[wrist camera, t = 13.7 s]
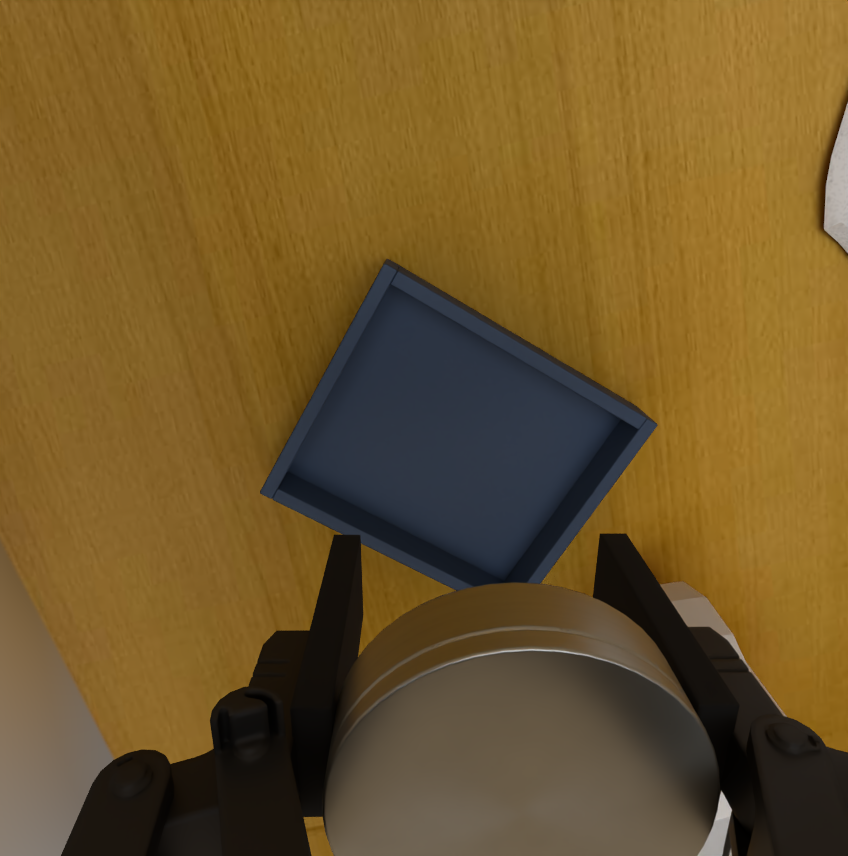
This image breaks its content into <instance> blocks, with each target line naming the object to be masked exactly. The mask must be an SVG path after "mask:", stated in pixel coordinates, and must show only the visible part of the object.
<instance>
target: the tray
mask: <svg viewBox="0 0 848 856" xmlns="http://www.w3.org/2000/svg"><path fill="white" fill-rule="evenodd" d="M656 427H657V423H655V422H654V421H653V420H652V419H651V418H650V417H648V416H647V415H646V414H645V413H644V412H643V411H641V410H640V409H639V408H638V407H637V406H635V405H634V404H632V403H630V402H628V401H627V400H625V399H623V398H622V397H620V396H618V395H617V394H615V393H613V392H612V391H610V390H608V389H607V388H605V387H603V386H602V385H600V384H598V383H596V382H595V381H593V380H591V379H590V378H588V377H586V376H585V375H583V374H581V373H580V372H578V371H576V370H575V369H573V368H571V367H570V366H568V365H566V364H564V363H563V362H561V361H559V360H558V359H556V358H554V357H553V356H551V355H549V354H548V353H546V352H544V351H543V350H541V349H539V348H538V347H536V346H534V345H532V344H531V343H529V342H527V341H526V340H524V339H522V338H521V337H519V336H517V335H516V334H514V333H512V332H511V331H509V330H507V329H506V328H504V327H502V326H500V325H499V324H497V323H495V322H494V321H492V320H490V319H489V318H487V317H485V316H484V315H482V314H480V313H479V312H477V311H475V310H474V309H472V308H470V307H468V306H467V305H465V304H463V303H462V302H460V301H458V300H457V299H455V298H453V297H452V296H450V295H448V294H447V293H445V292H443V291H442V290H440V289H438V288H436V287H435V286H433V285H431V284H430V283H428V282H426V281H425V280H423V279H421V278H420V277H418V276H416V275H415V274H413V273H411V272H410V271H408V270H406V269H404V268H403V267H401V266H399V265H398V264H396V263H394V262H393V261H391V260H389V259H386V261H385V262H384V264H383V266H382V268H381V270H380V272H379V273H378V275H377V277H376V279H375V281H374V283H373V284H372V286H371V288H370V290H369V292H368V294H367V296H366V297H365V299H364V301H363V303H362V305H361V307H360V308H359V310H358V312H357V314H356V316H355V318H354V319H353V321H352V323H351V325H350V327H349V329H348V331H347V332H346V334H345V336H344V338H343V340H342V342H341V343H340V345H339V347H338V349H337V351H336V353H335V355H334V356H333V358H332V360H331V362H330V364H329V366H328V367H327V369H326V371H325V373H324V375H323V377H322V378H321V380H320V382H319V384H318V386H317V388H316V390H315V391H314V393H313V395H312V397H311V399H310V401H309V402H308V404H307V406H306V408H305V410H304V412H303V413H302V415H301V417H300V419H299V421H298V423H297V425H296V426H295V428H294V430H293V432H292V434H291V436H290V437H289V439H288V441H287V443H286V445H285V447H284V449H283V450H282V452H281V454H280V456H279V458H278V460H277V461H276V463H275V465H274V467H273V469H272V471H271V472H270V474H269V476H268V478H267V480H266V482H265V484H264V485H263V487H262V489H261V491H260V493H261V494H262V495H264V496H266V497H268V498H271V499H272V498H273V500H274V501H276V502H279V503H281V504H283V505H285V506H287V507H289V508H291V509H293V510H295V511H297V512H299V513H301V514H303V515H305V516H307V517H309V518H311V519H313V520H315V521H317V522H319V523H321V524H323V525H325V526H327V527H329V528H331V529H333V530H335V531H337V532H339V533H341V534H343V535H360V537H361V543H362V544H364V545H366V546H368V547H370V548H372V549H374V550H376V551H378V552H380V553H382V554H384V555H386V556H388V557H390V558H392V559H394V560H396V561H398V562H400V563H402V564H404V565H406V566H408V567H410V568H412V569H414V570H416V571H418V572H420V573H422V574H424V575H426V576H428V577H430V578H432V579H434V580H436V581H438V582H440V583H442V584H445V585H447V586H449V587H451V588H453V589H455V590H457V591H458V590H462V589H465V588H470V587H476V586H481V585H486V584H497V583H512V582H517V583H538V584H540V583H541V582H542V580H543V579H544V578H545V576H546V575H547V574H548V572H549V571H550V570H551V568H552V567H553V566H554V564H555V563H556V562H557V560H558V559H559V558H560V556H561V555H562V554H563V552H564V551H565V549H566V548H567V547H568V545H569V544H570V543H571V541H572V540H573V539H574V537H575V536H576V535H577V533H578V532H579V531H580V529H581V528H582V527H583V525H584V524H585V522H586V521H587V520H588V518H589V517H590V516H591V514H592V513H593V512H594V510H595V509H596V508H597V506H598V505H599V504H600V502H601V501H602V500H603V498H604V497H605V496H606V494H607V493H608V491H609V490H610V489H611V487H612V486H613V485H614V483H615V482H616V481H617V479H618V478H619V477H620V475H621V474H622V473H623V471H624V470H625V469H626V467H627V466H628V464H629V463H630V462H631V460H632V459H633V458H634V456H635V455H636V454H637V452H638V451H639V450H640V448H641V447H642V446H643V444H644V443H645V442H646V440H647V439H648V438H649V436H650V435H651V433H652V432H653V431H654V429H655V428H656Z"/></svg>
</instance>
